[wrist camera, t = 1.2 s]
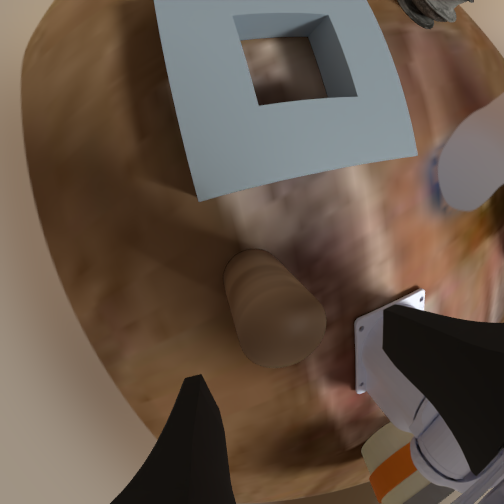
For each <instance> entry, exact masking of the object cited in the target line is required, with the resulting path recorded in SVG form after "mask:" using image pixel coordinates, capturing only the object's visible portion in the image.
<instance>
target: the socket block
mask: <svg viewBox="0 0 504 504" xmlns="http://www.w3.org/2000/svg"><path fill="white" fill-rule="evenodd" d="M154 5H155V10H156V16H157V22H158V27H159V33H160V38H161V43H162V49H163V54H164V59H165V64H166V68H167V73H168V78H169V83H170V87H171V92H172V96H173V101H174V105H175V110H176V114H177V118H178V123H179V127H180V131H181V135H182V139H183V143H184V147H185V151H186V155H187V159H188V163H189V167H190V171H191V175H192V179H193V183H194V186H195V190H196V194H197V198H198V201H199V202H200V201H204V200H207V199H211V198H215V197H218V196H222V195H226V194H229V193H233V192H237V191H241V190H245V189H249V188H253V187H257V186H261V185H265V184H269V183H273V182H278V181H282V180H286V179H291V178H295V177H300V176H304V175H309V174H314V173H319V172H323V171H328V170H334V169H339V168H344V167H349V166H355V165H361V164H366V163H372V162H378V161H385V160H391V159H398V158H405V157H412V156H418V154H417V148H416V143H415V138H414V133H413V128H412V124H411V120H410V116H409V111H408V108H407V104H406V100H405V96H404V93H403V90H402V86H401V83H400V80H399V77H398V74H397V71H396V68H395V65H394V62H393V59H392V56H391V54H390V51H389V49H388V46H387V43H386V41H385V39H384V36H383V34H382V31H381V29H380V27H379V25H378V22H377V20H376V18H375V16H374V14H373V12H372V10H371V8H370V6H369V4H368V2H367V0H154ZM273 37H308V38H309V41H310V44H311V46H312V49H313V52H314V55H315V58H316V61H317V64H318V67H319V70H320V73H321V76H322V79H323V83H324V86H325V89H326V93H327V96H328V98H321V99H309V100H299V101H290V102H282V103H275V104H268V105H262V106H259V105H258V101H257V98H256V94H255V90H254V87H253V83H252V80H251V76H250V72H249V69H248V66H247V62H246V59H245V55H244V52H243V49H242V45H241V42H240V40H248V39H258V38H273Z"/></svg>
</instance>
